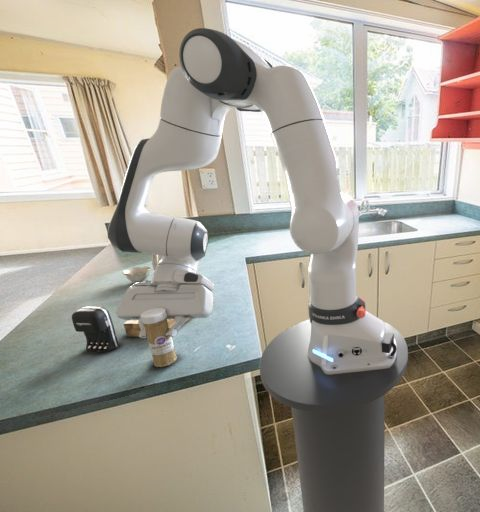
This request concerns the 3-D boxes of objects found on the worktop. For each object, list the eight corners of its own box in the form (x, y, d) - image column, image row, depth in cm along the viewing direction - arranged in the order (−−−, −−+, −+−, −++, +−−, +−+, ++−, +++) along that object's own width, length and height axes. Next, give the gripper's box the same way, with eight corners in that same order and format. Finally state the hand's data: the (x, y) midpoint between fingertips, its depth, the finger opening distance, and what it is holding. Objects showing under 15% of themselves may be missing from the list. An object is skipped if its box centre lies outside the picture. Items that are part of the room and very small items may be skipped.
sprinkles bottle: (159, 370, 68) (145, 318, 64) (151, 363, 70) (136, 313, 66) (181, 360, 71) (168, 310, 67) (172, 353, 74) (160, 305, 70)
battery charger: (80, 353, 73) (65, 312, 70) (95, 344, 77) (82, 305, 74) (107, 354, 73) (93, 313, 70) (121, 345, 77) (108, 306, 73)
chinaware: (117, 290, 113) (99, 250, 106) (157, 271, 128) (144, 234, 121) (176, 298, 107) (162, 256, 100) (211, 277, 121) (200, 239, 115)
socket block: (210, 303, 99) (207, 292, 98) (166, 337, 80) (163, 324, 79) (177, 303, 100) (175, 292, 98) (127, 336, 81) (123, 323, 80)
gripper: (121, 277, 71) (98, 336, 64) (209, 275, 72) (195, 332, 66) (139, 287, 76) (119, 341, 70) (220, 285, 78) (209, 338, 71)
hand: (157, 337), depth 68 cm, fingers closed on sprinkles bottle, 4 cm apart
